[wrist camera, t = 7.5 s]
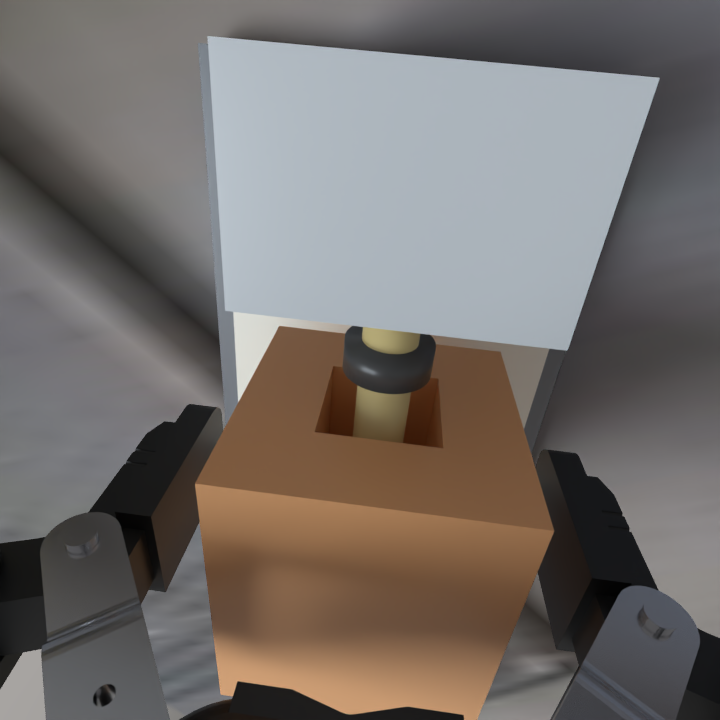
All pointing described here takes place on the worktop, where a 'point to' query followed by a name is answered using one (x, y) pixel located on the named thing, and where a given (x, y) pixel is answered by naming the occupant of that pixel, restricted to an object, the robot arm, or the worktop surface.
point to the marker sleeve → (370, 533)
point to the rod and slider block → (409, 210)
